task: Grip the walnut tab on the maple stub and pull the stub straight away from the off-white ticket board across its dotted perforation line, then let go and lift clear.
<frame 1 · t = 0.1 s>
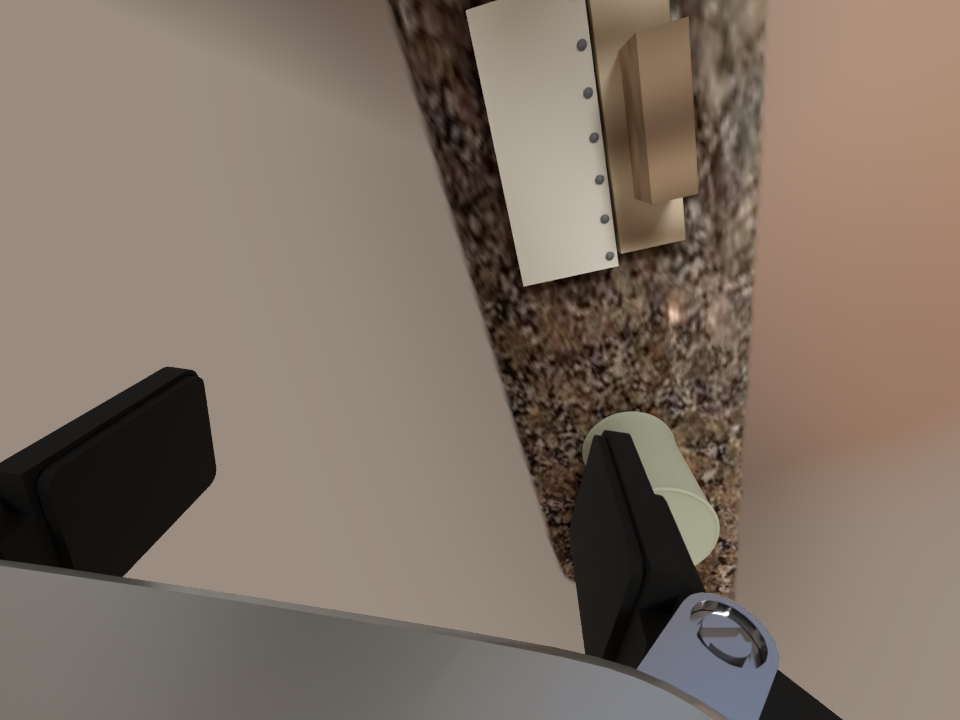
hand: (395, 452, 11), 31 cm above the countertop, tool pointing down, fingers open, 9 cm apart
can: (627, 448, 47), on the countertop
stub: (647, 123, 32), point 3 cm above the countertop, slide at 0.0 cm
ticket board: (598, 136, 35), on the countertop
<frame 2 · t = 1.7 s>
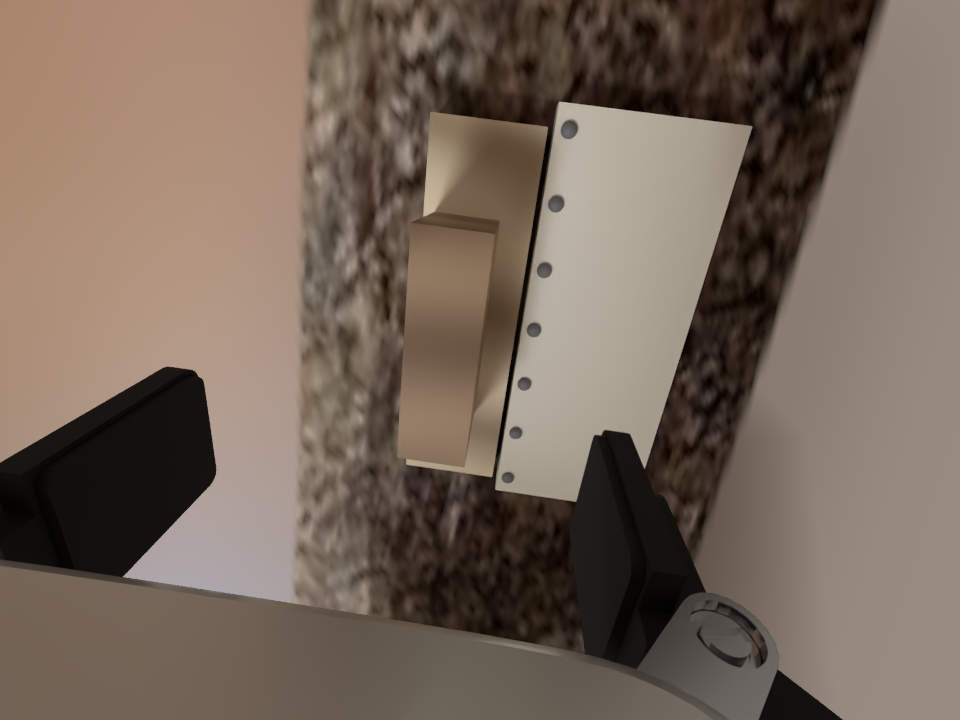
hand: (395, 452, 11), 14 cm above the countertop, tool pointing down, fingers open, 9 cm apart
stub: (462, 333, 21), point 3 cm above the countertop, slide at 0.0 cm
ticket board: (521, 319, 24), on the countertop
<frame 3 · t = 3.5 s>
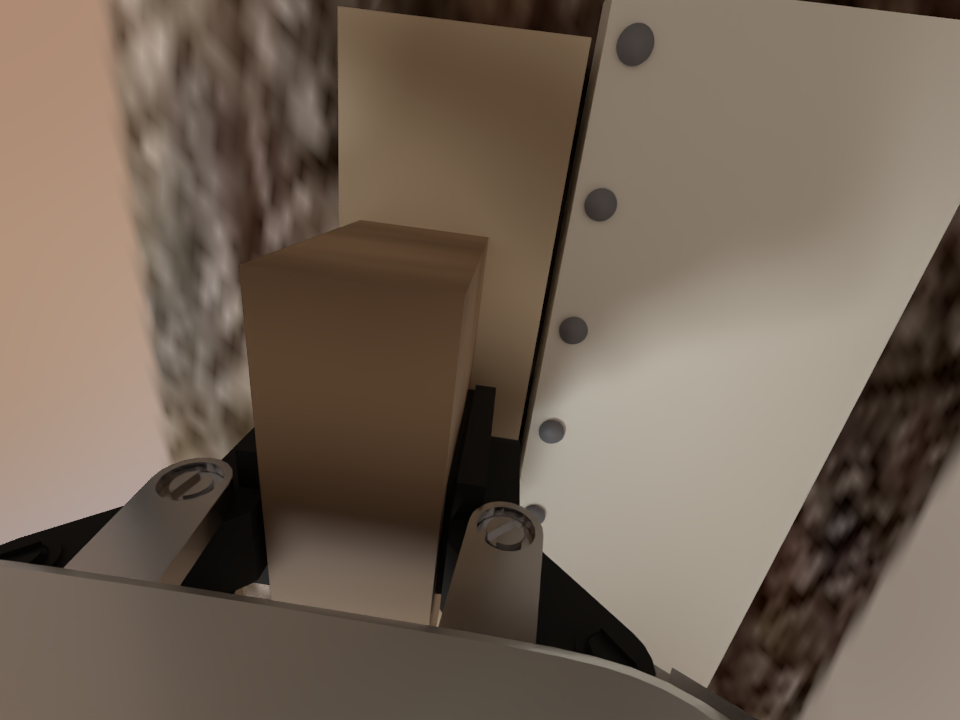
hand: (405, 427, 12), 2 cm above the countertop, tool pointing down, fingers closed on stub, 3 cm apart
stub: (416, 454, 11), point 3 cm above the countertop, slide at 0.0 cm, touching gripper
ticket board: (528, 401, 14), on the countertop
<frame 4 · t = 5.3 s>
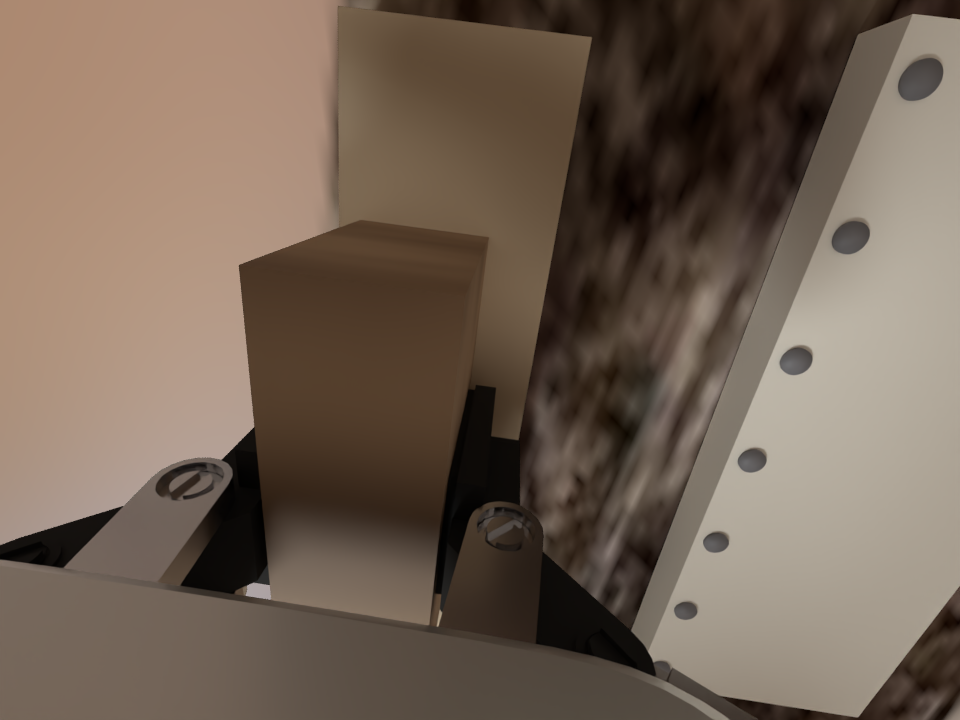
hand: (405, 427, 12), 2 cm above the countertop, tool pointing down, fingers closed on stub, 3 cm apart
stub: (416, 454, 11), point 3 cm above the countertop, slide at 5.5 cm, touching gripper
ticket board: (708, 427, 14), on the countertop
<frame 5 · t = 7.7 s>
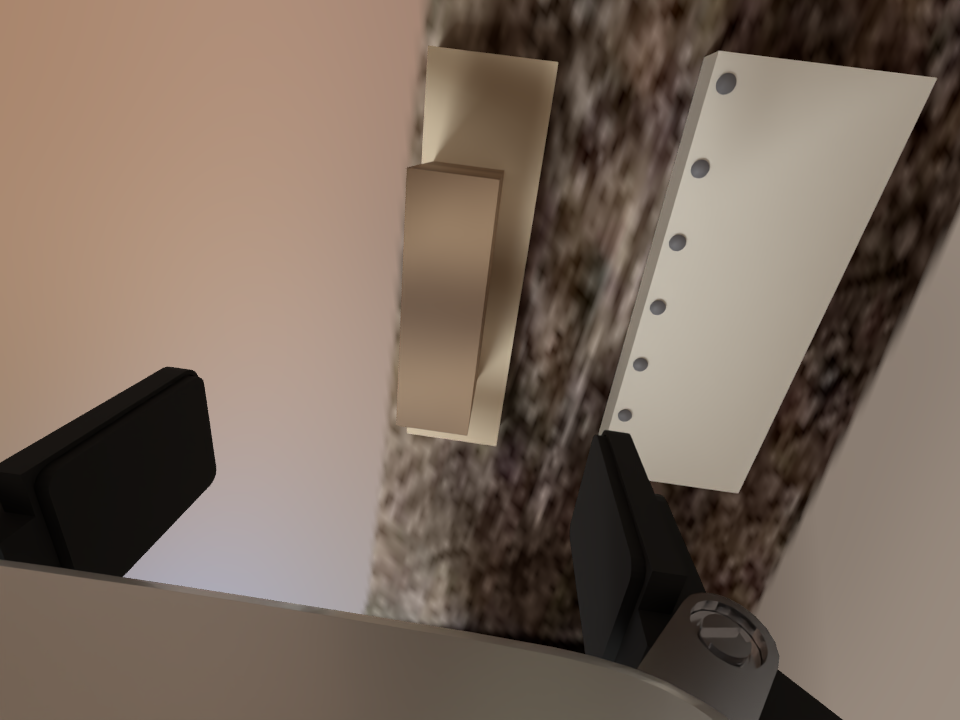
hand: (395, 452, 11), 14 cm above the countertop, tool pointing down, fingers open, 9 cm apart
stub: (464, 294, 20), point 3 cm above the countertop, slide at 5.5 cm
ticket board: (637, 295, 23), on the countertop
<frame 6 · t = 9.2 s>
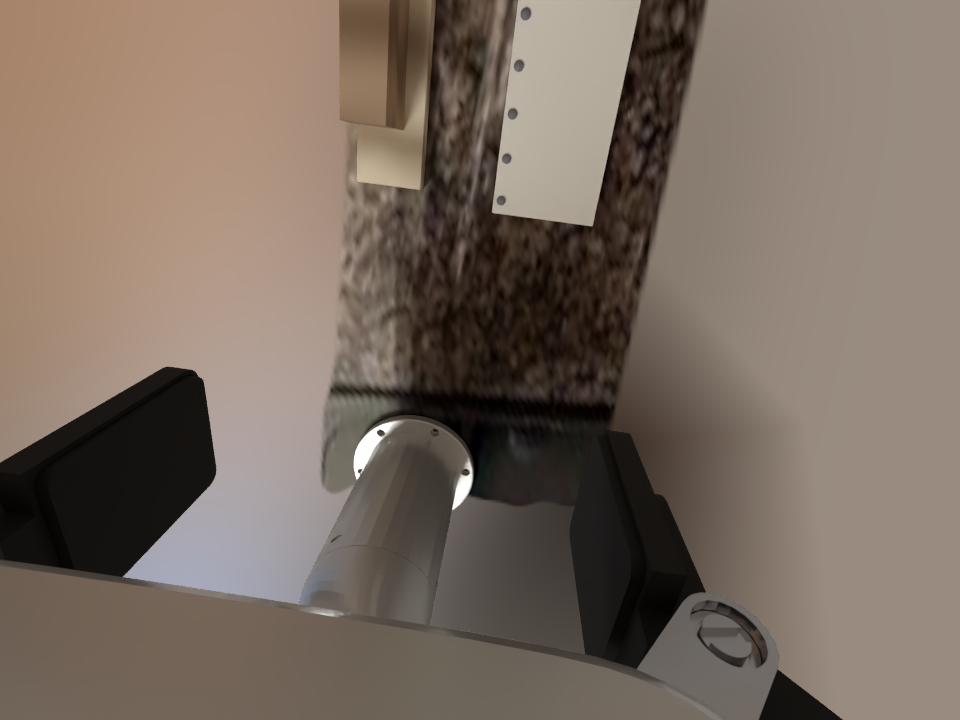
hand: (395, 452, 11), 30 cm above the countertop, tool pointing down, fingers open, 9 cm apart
stub: (386, 43, 30), point 3 cm above the countertop, slide at 5.5 cm
ticket board: (510, 68, 33), on the countertop
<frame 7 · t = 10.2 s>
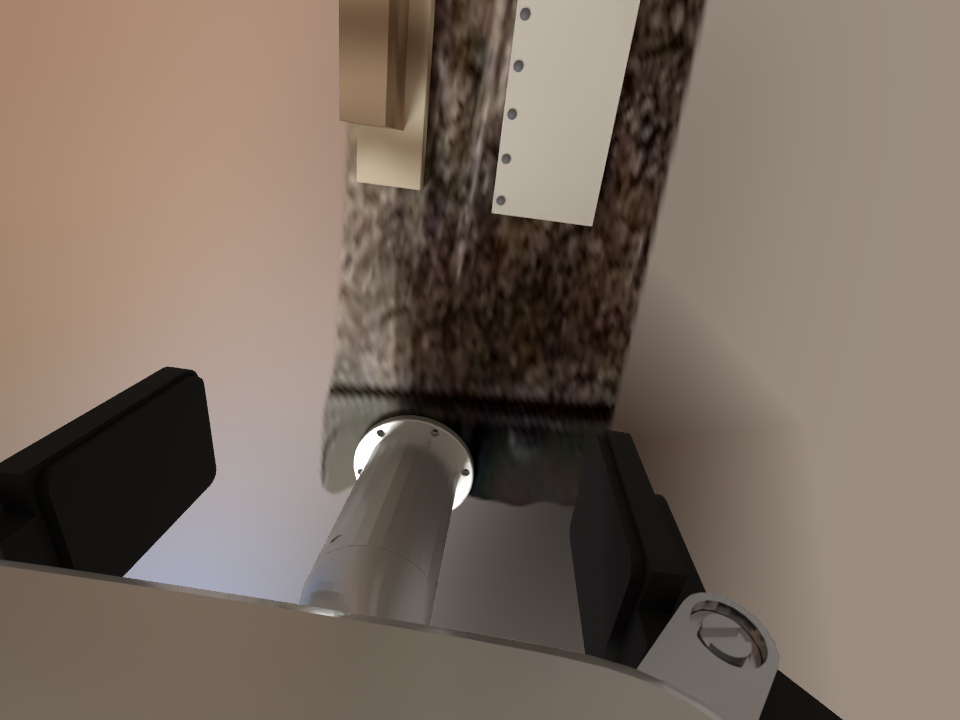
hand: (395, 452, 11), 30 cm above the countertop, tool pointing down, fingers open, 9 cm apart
stub: (386, 44, 30), point 3 cm above the countertop, slide at 5.5 cm
ticket board: (510, 69, 33), on the countertop
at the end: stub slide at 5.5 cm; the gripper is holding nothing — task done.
